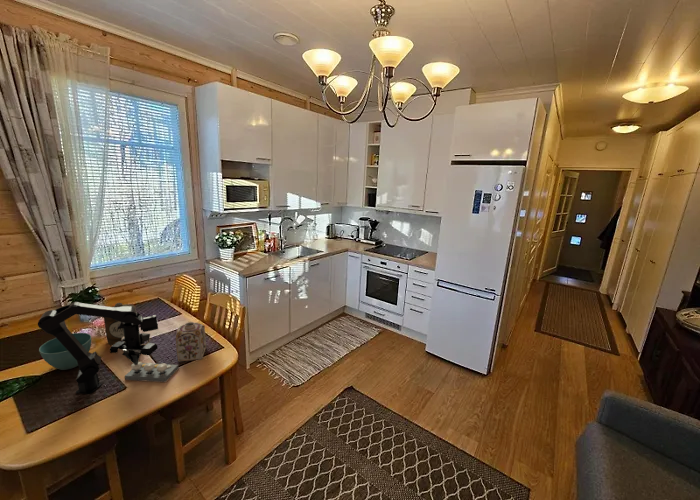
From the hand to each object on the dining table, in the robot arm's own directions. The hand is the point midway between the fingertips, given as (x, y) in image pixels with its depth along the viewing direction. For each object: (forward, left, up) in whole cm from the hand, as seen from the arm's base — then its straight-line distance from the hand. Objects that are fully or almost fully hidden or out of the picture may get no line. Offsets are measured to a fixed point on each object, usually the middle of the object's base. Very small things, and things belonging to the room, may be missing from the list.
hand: (136, 364), depth 139 cm
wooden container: (+30, +30, -6) cm, 43 cm away
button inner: (0, 0, -4) cm, 4 cm away
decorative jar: (+19, -16, -6) cm, 25 cm away
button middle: (0, -6, -4) cm, 7 cm away
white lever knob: (0, -12, -4) cm, 13 cm away
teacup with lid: (+19, +14, -6) cm, 24 cm away
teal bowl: (+5, +37, -6) cm, 38 cm away
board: (+2, -6, -6) cm, 9 cm away
